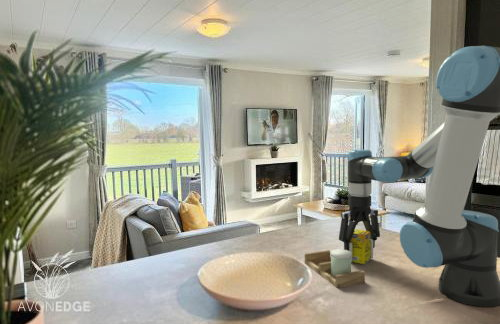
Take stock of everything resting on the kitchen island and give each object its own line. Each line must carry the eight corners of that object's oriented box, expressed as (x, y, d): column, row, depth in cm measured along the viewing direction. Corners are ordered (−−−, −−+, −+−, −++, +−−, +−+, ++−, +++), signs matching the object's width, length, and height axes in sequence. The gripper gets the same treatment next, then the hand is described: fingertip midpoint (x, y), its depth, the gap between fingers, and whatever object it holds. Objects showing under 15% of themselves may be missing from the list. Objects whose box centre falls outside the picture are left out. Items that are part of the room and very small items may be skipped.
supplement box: (365, 267, 113) (365, 235, 112) (348, 263, 116) (348, 232, 116) (370, 261, 118) (371, 231, 117) (354, 257, 121) (354, 228, 120)
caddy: (364, 284, 100) (364, 271, 100) (337, 289, 97) (337, 276, 97) (328, 261, 119) (328, 250, 119) (304, 264, 116) (304, 253, 116)
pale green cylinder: (355, 280, 101) (355, 254, 101) (338, 283, 99) (337, 257, 99) (343, 272, 107) (343, 248, 107) (326, 275, 105) (326, 250, 105)
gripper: (377, 190, 122) (376, 251, 124) (327, 195, 115) (327, 259, 117) (392, 194, 115) (391, 258, 117) (339, 199, 108) (340, 267, 110)
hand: (359, 258), depth 117 cm, fingers closed on supplement box, 8 cm apart
